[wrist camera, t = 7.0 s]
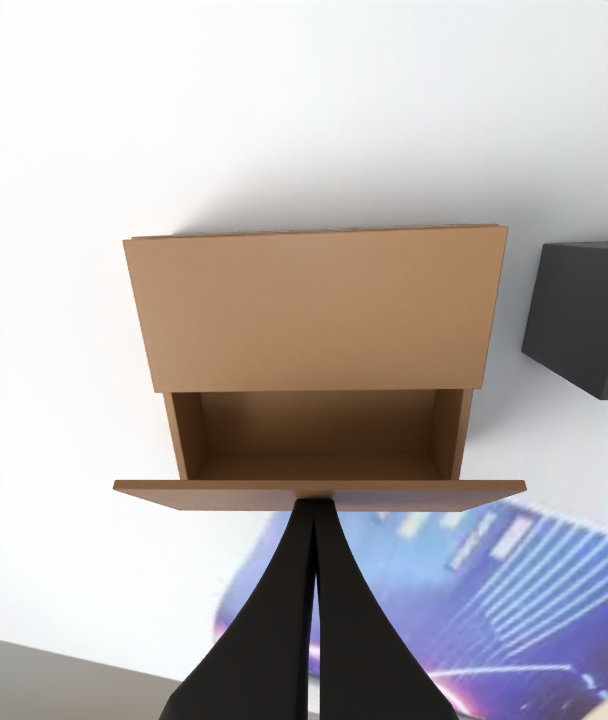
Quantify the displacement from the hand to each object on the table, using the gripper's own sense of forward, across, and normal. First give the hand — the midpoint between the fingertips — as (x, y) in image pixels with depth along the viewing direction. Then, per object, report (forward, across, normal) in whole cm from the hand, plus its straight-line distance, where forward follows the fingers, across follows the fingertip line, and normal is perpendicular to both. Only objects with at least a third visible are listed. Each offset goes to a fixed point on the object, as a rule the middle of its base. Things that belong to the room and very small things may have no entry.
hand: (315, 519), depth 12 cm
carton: (+7, 0, -4) cm, 8 cm away
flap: (+1, 0, 0) cm, 1 cm away
